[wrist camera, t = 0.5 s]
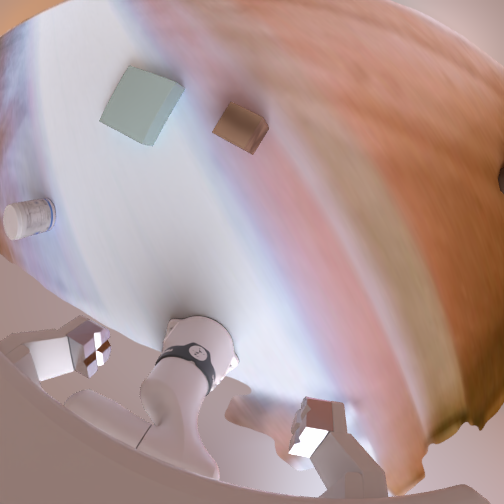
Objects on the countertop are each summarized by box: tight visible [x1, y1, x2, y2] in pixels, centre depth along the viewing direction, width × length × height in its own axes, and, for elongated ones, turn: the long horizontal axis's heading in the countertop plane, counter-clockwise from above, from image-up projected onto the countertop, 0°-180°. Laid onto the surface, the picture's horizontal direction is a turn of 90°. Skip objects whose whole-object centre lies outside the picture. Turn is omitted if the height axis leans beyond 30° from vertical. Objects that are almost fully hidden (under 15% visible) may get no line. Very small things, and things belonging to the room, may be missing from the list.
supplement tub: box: [3, 198, 56, 240], centre depth 54 cm, size 10×10×15 cm
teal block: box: [99, 66, 185, 146], centre depth 48 cm, size 14×14×5 cm
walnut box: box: [212, 102, 269, 155], centre depth 44 cm, size 6×6×9 cm
